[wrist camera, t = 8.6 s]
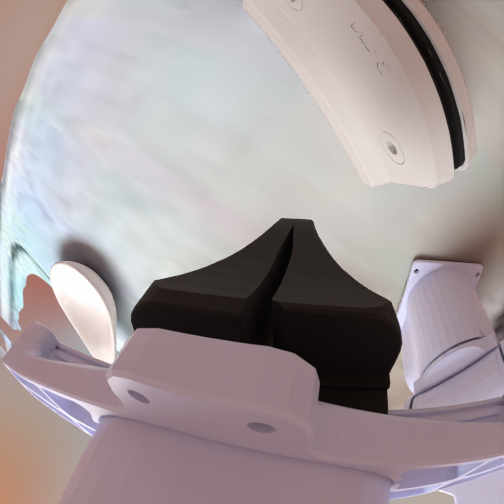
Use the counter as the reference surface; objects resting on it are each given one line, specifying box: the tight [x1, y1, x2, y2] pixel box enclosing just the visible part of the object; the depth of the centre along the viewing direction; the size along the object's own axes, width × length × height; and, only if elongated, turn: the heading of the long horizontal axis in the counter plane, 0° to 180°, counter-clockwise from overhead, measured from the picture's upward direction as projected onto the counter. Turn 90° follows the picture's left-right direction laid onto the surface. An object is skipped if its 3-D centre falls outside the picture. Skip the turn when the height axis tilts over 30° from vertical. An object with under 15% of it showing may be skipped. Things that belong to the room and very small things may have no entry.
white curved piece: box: [242, 0, 476, 188], centre depth 12 cm, size 17×5×10 cm, turn 35°
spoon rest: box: [50, 261, 117, 364], centre depth 34 cm, size 24×12×7 cm, turn 23°
